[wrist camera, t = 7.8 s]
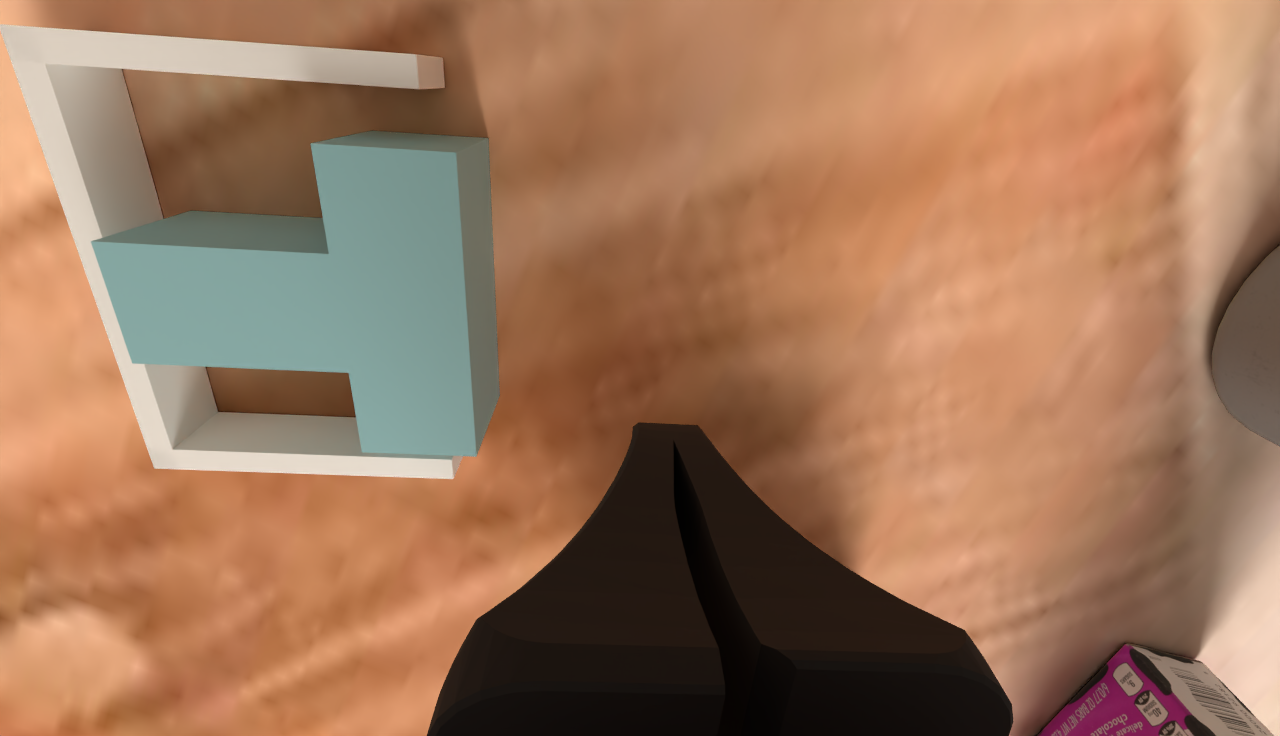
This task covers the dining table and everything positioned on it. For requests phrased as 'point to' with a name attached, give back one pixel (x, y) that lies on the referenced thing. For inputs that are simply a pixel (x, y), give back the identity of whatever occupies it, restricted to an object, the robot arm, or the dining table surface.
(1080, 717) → the candy bar box
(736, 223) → the dining table surface
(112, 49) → the white u-shaped bracket
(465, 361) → the t block
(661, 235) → the dining table surface
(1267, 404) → the water bottle
